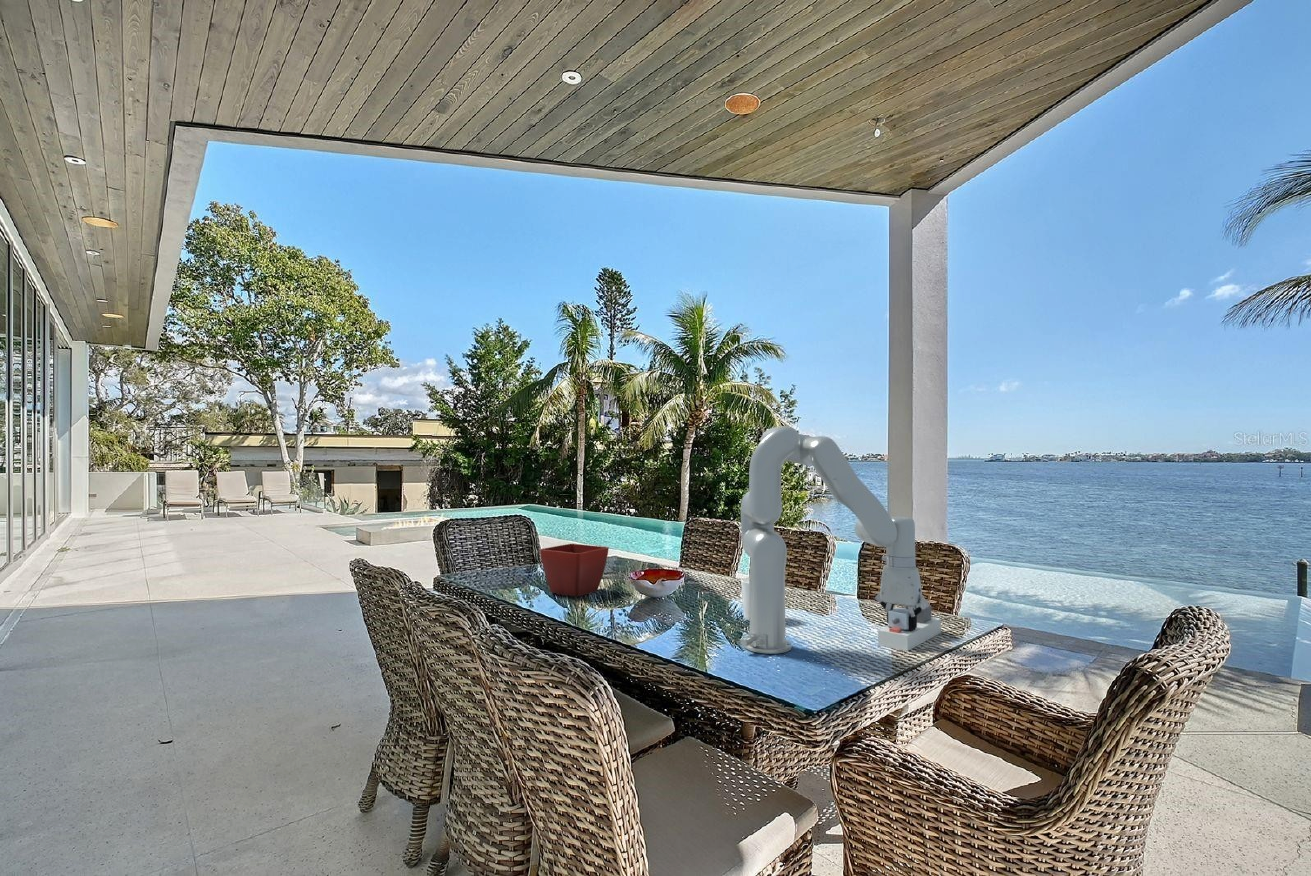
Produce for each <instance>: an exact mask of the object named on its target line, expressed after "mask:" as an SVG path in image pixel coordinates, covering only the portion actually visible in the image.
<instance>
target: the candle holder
mask: <svg viewBox="0 0 1311 876" xmlns="http://www.w3.org/2000/svg"><path fill="white" fill-rule="evenodd" d="M740 582H741V595H742V596H741V597H742V614H743V619H744V620H746V621H749V622H750V596H749V577H744V578H741V580H740Z"/></svg>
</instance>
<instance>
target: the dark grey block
mask: <svg viewBox="0 0 1311 876" xmlns="http://www.w3.org/2000/svg"><path fill="white" fill-rule="evenodd" d="M916 606H917V608H918V607H919V606H921V603H919V604H916ZM905 609H908V606H905ZM908 610H909V609H908ZM932 612H933V611H932V604H929V607H927V608H926V609H924V610H923V611H921V612H920V613H919V614H918V615H917V622H919V623H925V622H927V621H929V620H931V619H932V616H933V615H932Z"/></svg>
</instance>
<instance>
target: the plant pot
mask: <svg viewBox="0 0 1311 876" xmlns="http://www.w3.org/2000/svg"><path fill="white" fill-rule="evenodd" d="M539 553H540V557H541V563H542V567H543V573H544V575H545V580H546V582H547V584H548V587H549V590H550V593H551V592H552V593H551V594H554V593H556V595H560V594H561V596H566V595H569V596H568V597H573V596H574V598H576V597H577V598H579V597H582V596H585V595H588V594H589V595H590V594H592V593H596V592H597V591H598V589H599V586H600V584H601V581H602V578H603V575H604V572H605V570H606V569H605V568H606V566H607V565H606V564H607V561H608V560H607V559H608V554H609V547H607V546H600V545H599V546H598V545H590V544H579V543H568V544H567V543H565V544H562V545H556V546H551V547H545V548H540V550H539ZM578 596H579V597H578Z"/></svg>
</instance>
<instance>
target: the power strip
mask: <svg viewBox="0 0 1311 876" xmlns="http://www.w3.org/2000/svg"><path fill="white" fill-rule="evenodd" d="M941 619H942V618H940V617H934V616H933V617H932V619H931V620H929V621H927V622H925V623H919V622H917V627H916V629H915V630H913V631H912V632H911V631H909V630H908V631H906V632H904V631H901V629H900V628H894V627H891V628H889V627H888V625H887V626H884V627H883V628H880V629H878V630H877V639H878V640H877V645H878V646H880V645H881V646H882V647H886V648H891V649H897V650H901V651H905V652H908V651H910V650H912V649H913V648H915V647H917V646H919V645H921V644H923V643H924V642H927V641H929V640H930V639H932V638H933V637H936V636H938V635H939V634H941V633H942V622H941ZM926 640H927V641H926Z"/></svg>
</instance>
